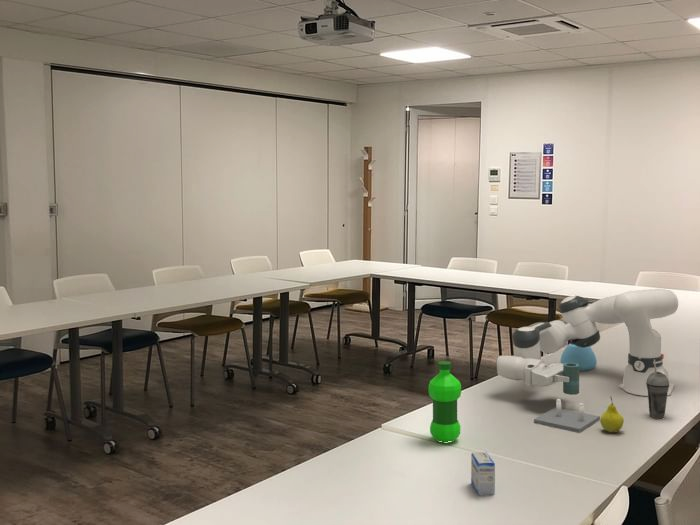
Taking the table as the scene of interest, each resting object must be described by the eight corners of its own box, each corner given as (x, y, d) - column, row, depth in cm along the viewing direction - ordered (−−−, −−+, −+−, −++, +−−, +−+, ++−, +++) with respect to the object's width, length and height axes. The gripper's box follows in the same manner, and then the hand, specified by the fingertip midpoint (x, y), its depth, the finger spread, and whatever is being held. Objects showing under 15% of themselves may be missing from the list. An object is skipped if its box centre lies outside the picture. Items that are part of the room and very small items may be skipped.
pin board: (555, 410, 253) (555, 390, 252) (599, 419, 242) (600, 399, 241) (533, 422, 241) (534, 401, 240) (579, 432, 230) (580, 410, 230)
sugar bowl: (558, 370, 307) (558, 343, 306) (562, 361, 321) (562, 336, 320) (595, 372, 302) (595, 345, 301) (597, 364, 316) (598, 338, 314)
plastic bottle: (441, 448, 219) (440, 368, 217) (422, 438, 229) (421, 361, 226) (468, 442, 224) (467, 364, 221) (448, 432, 233) (448, 357, 231)
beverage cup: (670, 421, 239) (672, 362, 237) (647, 420, 241) (648, 361, 238) (665, 414, 246) (667, 357, 244) (643, 413, 248) (644, 356, 246)
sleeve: (567, 389, 256) (567, 362, 255) (580, 392, 252) (581, 364, 251) (561, 393, 252) (561, 365, 251) (574, 395, 249) (575, 367, 248)
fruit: (606, 426, 235) (607, 391, 234) (627, 431, 231) (627, 395, 229) (596, 432, 231) (597, 395, 229) (617, 437, 226) (618, 399, 224)
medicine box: (470, 483, 194) (470, 452, 193) (487, 482, 194) (487, 451, 193) (478, 495, 186) (478, 463, 185) (495, 494, 186) (495, 462, 185)
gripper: (550, 374, 268) (585, 379, 259) (523, 386, 253) (560, 393, 244) (550, 357, 267) (586, 362, 258) (523, 368, 252) (560, 374, 243)
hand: (573, 377), depth 251 cm, fingers closed on sleeve, 5 cm apart
